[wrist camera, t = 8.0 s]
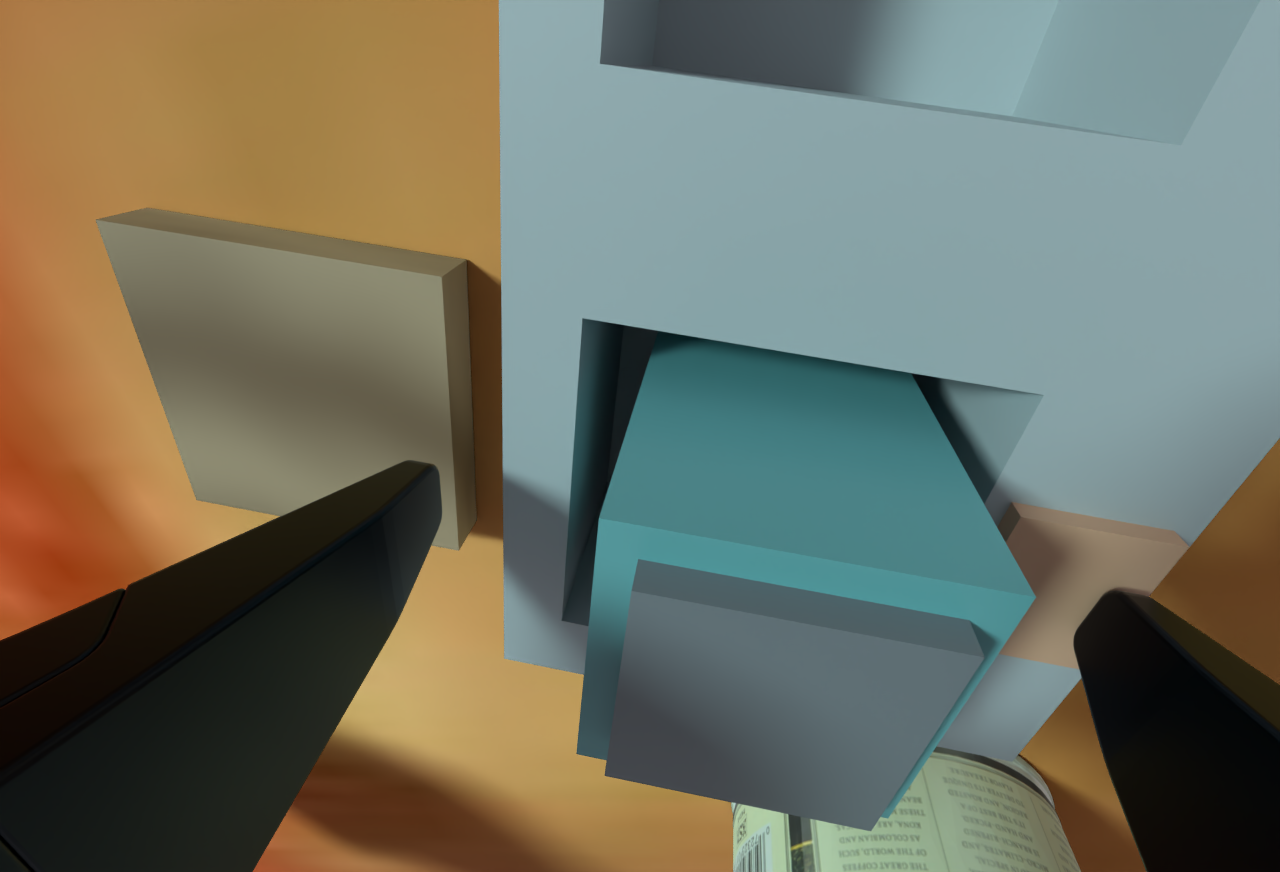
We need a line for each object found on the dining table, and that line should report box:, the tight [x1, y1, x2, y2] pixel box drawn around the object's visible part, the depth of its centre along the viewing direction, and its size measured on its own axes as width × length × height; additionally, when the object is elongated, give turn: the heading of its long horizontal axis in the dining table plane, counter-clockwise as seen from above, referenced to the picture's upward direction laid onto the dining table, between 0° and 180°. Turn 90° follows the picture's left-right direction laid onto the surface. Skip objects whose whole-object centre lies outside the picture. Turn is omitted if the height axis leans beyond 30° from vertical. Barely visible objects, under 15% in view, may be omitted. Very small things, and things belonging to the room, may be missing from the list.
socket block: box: [499, 0, 1280, 762], centre depth 8 cm, size 16×9×5 cm, turn 173°
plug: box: [577, 331, 1036, 831], centre depth 9 cm, size 4×4×7 cm
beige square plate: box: [96, 208, 477, 551], centre depth 14 cm, size 7×7×1 cm
